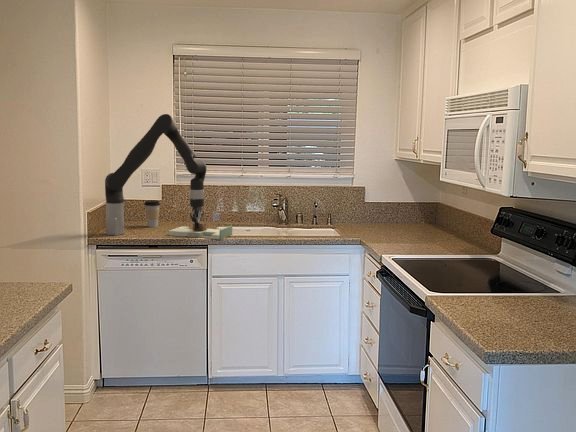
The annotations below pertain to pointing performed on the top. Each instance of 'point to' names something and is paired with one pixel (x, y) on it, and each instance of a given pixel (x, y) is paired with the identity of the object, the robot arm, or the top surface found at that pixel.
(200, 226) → the walnut block
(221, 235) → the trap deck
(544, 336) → the top surface
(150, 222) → the coffee cup
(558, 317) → the top surface
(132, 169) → the robot arm
